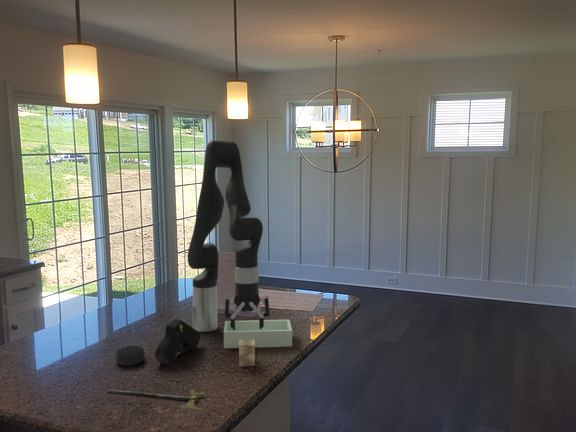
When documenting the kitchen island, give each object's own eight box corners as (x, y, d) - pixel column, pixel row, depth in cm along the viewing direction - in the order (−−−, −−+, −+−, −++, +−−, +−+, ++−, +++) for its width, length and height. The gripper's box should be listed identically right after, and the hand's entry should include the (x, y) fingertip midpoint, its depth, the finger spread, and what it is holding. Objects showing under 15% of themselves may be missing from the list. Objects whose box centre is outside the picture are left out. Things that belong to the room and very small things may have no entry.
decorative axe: (105, 390, 145) (128, 372, 154) (105, 395, 146) (128, 377, 155) (194, 413, 134) (213, 392, 143) (194, 418, 134) (214, 397, 143)
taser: (151, 359, 163) (168, 314, 169) (179, 373, 177) (193, 331, 183) (161, 361, 161) (178, 316, 167) (189, 375, 175) (203, 333, 181)
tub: (223, 348, 179) (223, 332, 178) (225, 336, 191) (225, 321, 190) (292, 346, 181) (292, 330, 180) (289, 334, 193) (289, 319, 192)
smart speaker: (112, 361, 168) (111, 349, 168) (138, 354, 174) (137, 342, 173) (122, 369, 161) (122, 357, 161) (149, 362, 167) (149, 350, 167)
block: (239, 366, 164) (239, 345, 163) (239, 360, 169) (239, 339, 168) (254, 365, 165) (254, 345, 164) (254, 359, 170) (254, 339, 169)
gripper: (223, 283, 159) (224, 333, 161) (269, 282, 160) (269, 332, 162) (224, 277, 167) (225, 325, 168) (268, 276, 168) (268, 324, 170)
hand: (247, 329), depth 165 cm, fingers open, 8 cm apart
